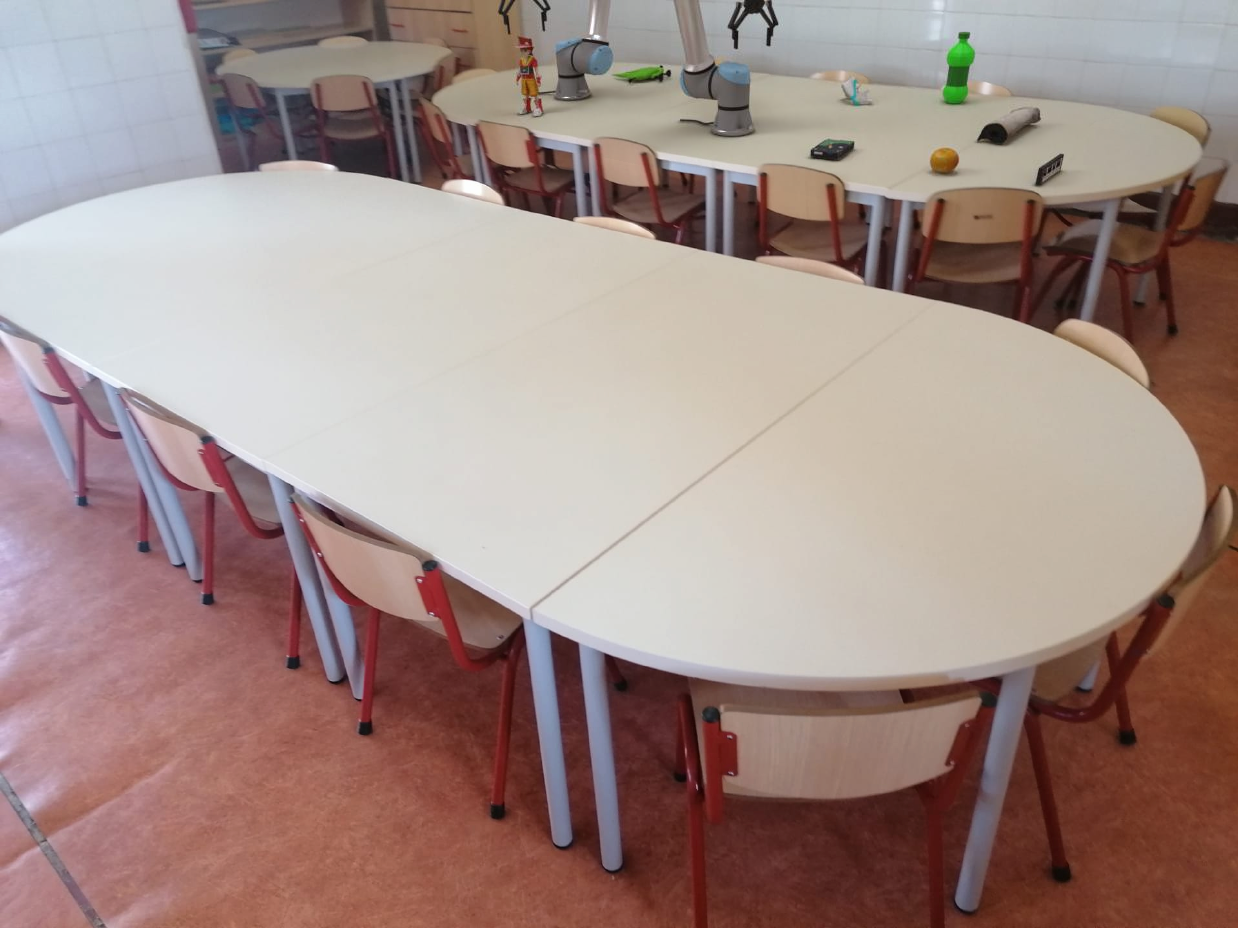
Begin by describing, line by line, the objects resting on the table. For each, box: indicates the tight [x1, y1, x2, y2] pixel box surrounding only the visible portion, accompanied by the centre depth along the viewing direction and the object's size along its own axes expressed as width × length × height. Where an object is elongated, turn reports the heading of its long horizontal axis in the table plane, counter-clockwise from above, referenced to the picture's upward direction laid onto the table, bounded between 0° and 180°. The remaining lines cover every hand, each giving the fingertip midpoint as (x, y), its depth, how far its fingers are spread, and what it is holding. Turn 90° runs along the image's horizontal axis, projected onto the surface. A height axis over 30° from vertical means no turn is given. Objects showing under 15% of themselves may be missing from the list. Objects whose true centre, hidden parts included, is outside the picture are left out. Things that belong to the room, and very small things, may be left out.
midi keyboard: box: [1035, 153, 1065, 186], centre depth 273 cm, size 18×1×5 cm, turn 138°
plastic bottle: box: [942, 31, 976, 104], centre depth 348 cm, size 10×10×25 cm
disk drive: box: [809, 138, 855, 161], centre depth 306 cm, size 10×3×15 cm
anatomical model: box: [841, 76, 874, 106], centre depth 361 cm, size 15×10×10 cm
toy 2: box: [611, 65, 672, 84], centre depth 420 cm, size 28×5×30 cm
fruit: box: [929, 147, 960, 174], centre depth 283 cm, size 8×8×8 cm
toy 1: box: [514, 35, 544, 117], centre depth 366 cm, size 12×9×30 cm
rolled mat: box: [976, 106, 1042, 145], centre depth 314 cm, size 30×9×10 cm
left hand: (526, 32), depth 349 cm, fingers open, 13 cm apart
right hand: (752, 47), depth 352 cm, fingers open, 13 cm apart
